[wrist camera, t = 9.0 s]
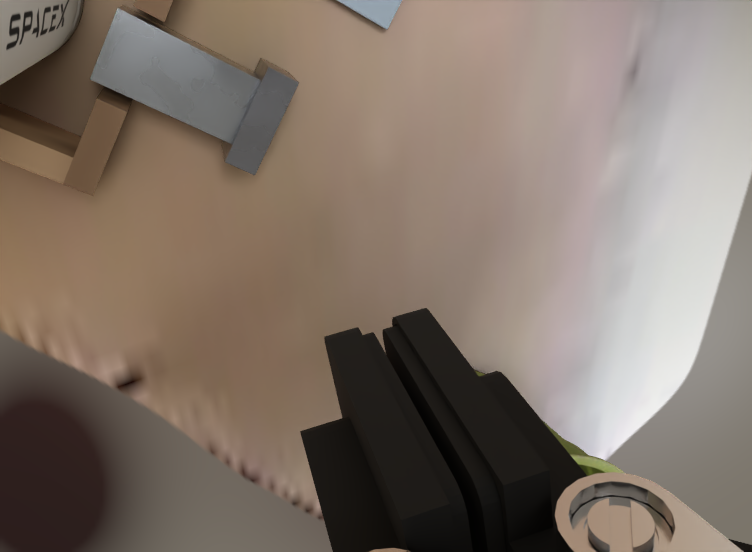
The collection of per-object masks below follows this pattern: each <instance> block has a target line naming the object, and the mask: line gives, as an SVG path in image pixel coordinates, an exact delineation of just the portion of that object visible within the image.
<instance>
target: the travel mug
mask: <svg viewBox="0 0 752 552" xmlns="http://www.w3.org/2000/svg"><path fill="white" fill-rule="evenodd" d="M83 4H84V0H0V85H1V84H3V83H4V82H6V81H8V80H9V79H11V78H13V77H14V76H16V75H17V74H19V73H21V72H22V71H24V70H25V69H27V68H29V67H30V66H32V65H34V64H35V63H37V62H38V61H40V60H42V59H43V58H45V57H46V56H48V55H50V54H51V53H53V52H54V51H56V50H58V49H59V48H60V47H61V46H62V45H63V44H64V43H65V42H66V41H67V40H68V39H70V37H71V35H72V34H73V32H74V31H75V29H76V28H77V26H78V23H79V20H80V17H81V15H82V11H83Z"/></svg>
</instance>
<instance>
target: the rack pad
mask: <svg viewBox="0 0 752 552" xmlns="http://www.w3.org/2000/svg"><path fill="white" fill-rule="evenodd" d="M336 1H338V2H340V3H341V4H343V5H345V6H347V7H348V8H350V9H352V10H353V11H355V12H357V13H358V14H360V15H362V16H363V17H365V18H367V19H369V20H370V21H372V22H374V23H375V24H377V25H379V26H380V27H382V28H384V29H388V27H389V25H390V23H391V21H392V19H393V17H394V15H395V13H396V11H397V9H398V7H399V5H400V3H401V1H402V0H336Z"/></svg>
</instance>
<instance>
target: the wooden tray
mask: <svg viewBox="0 0 752 552" xmlns="http://www.w3.org/2000/svg"><path fill="white" fill-rule="evenodd" d="M172 2H173V0H135V3H134V5H133V6H134V7H136V8H138V9H140V10H142V11H144V12H146V13H148V14H149V15H151V16H153V17H155V18H157V19H159V20H161V21H163V22H165V19H166V17H167V14H168V12H169V10H170V7H171V5H172ZM132 100H133V99H132V98H130V97H127V96H125V95H123V94H121V93H119V92H116V91H114V90H112V89H110V88H108V87H104V89H103V90H102V92H101V93H100V95H99V96H98V97H97V99H96V102H95V104H94V107H93V109H92V112H91V114H90V117H89V119H88V122H87V124H86V127H85V129H84V132H83V135H82V137H80V136H78V135H75V134H73V133H71V132H68V131H66V130H64V129H61V128H59V127H56V126H54V125H52V124H49V123H47V122H45V121H42V120H40V119H37V118H35V117H33V116H30V115H28V114H26V113H23V112H21V111H18V110H16V109H14V108H11V107H9V106H6V105H4V104H2V103H0V160H2V161H4V162H7V163H10V164H12V165H15V166H17V167H20V168H22V169H25V170H28V171H30V172H33V173H35V174H38V175H40V176H43V177H46V178H48V179H51V180H53V181H56V182H58V183H61V184H64V185H66V186H69V187H71V188H74V189H76V190H79V191H82V192H84V193H87V194H89V195H92V196H93V195H94V192H95V190H96V187H97V185H98V183H99V180H100V178H101V175H102V173H103V170H104V168H105V166H106V163H107V161H108V158H109V156H110V153H111V151H112V148H113V146H114V144H115V141H116V139H117V136H118V134H119V131H120V129H121V127H122V124H123V122H124V119H125V117H126V114H127V112H128V109H129V107H130V105H131V102H132Z"/></svg>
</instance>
